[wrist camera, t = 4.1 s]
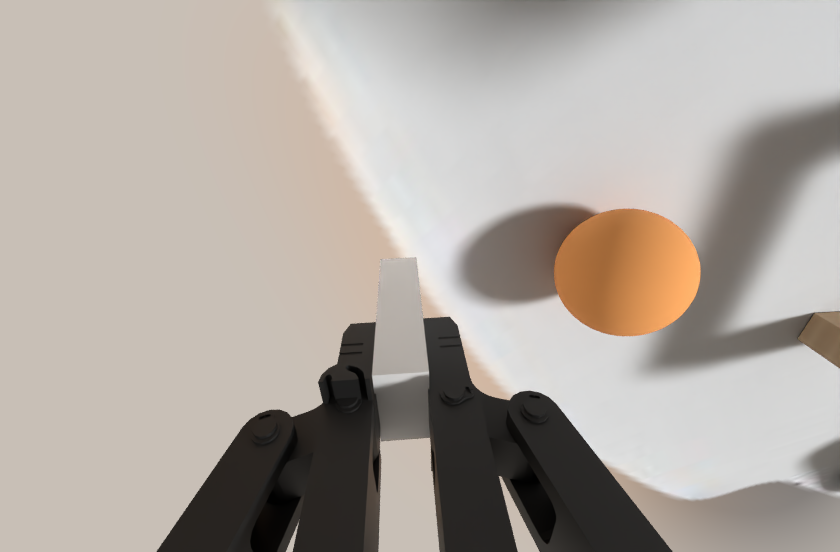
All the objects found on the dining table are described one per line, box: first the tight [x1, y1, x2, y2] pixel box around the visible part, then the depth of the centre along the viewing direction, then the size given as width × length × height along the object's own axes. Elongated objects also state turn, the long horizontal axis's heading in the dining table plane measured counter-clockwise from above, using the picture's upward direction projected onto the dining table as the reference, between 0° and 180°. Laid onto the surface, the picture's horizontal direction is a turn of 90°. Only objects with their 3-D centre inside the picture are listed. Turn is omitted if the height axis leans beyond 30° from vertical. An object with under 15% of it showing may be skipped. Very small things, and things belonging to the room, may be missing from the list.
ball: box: [554, 209, 701, 336], centre depth 16 cm, size 6×6×6 cm
